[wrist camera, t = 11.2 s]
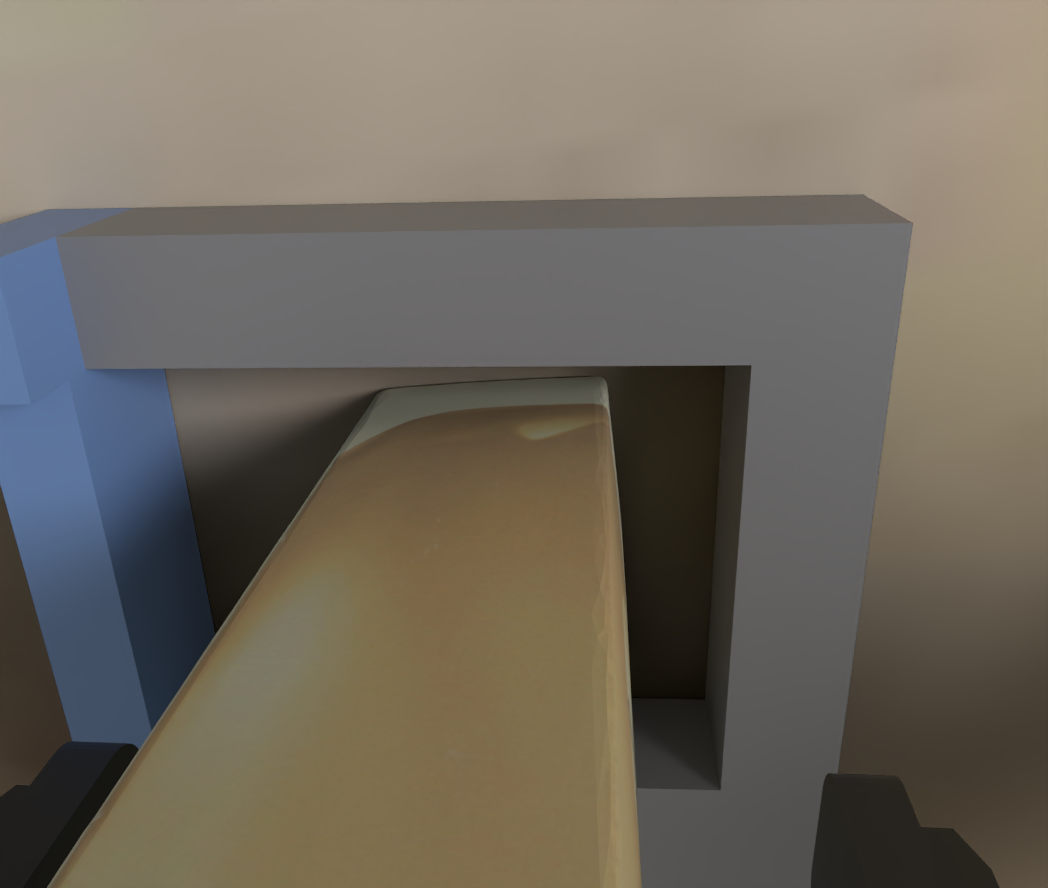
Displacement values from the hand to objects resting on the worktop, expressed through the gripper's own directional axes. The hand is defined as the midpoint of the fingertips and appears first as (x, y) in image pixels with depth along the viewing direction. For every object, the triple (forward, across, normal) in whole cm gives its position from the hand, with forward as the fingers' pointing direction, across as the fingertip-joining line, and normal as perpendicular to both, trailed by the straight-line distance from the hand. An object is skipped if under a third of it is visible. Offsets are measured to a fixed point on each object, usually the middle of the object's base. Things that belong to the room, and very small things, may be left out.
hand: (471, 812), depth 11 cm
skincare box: (+8, 0, 0) cm, 8 cm away
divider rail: (+7, +1, +6) cm, 10 cm away
